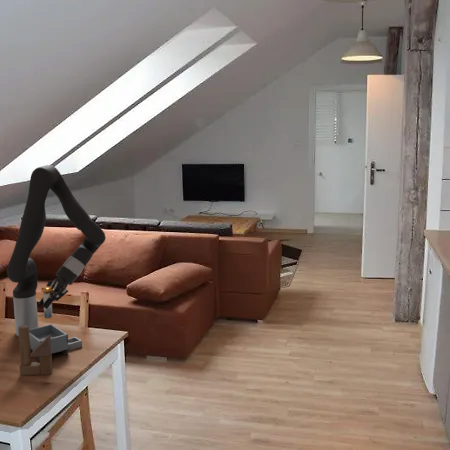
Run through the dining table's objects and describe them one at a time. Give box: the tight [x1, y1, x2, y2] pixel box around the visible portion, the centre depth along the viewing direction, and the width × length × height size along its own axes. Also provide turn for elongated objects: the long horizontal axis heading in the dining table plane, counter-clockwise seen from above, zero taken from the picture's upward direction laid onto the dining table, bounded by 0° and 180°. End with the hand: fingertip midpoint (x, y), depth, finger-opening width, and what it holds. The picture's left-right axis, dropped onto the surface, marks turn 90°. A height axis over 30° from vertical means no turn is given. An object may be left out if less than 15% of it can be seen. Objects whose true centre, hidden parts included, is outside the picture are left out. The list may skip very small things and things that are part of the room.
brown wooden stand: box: [18, 325, 54, 377], centre depth 187 cm, size 4×11×18 cm, turn 96°
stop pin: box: [41, 286, 53, 319], centre depth 203 cm, size 4×4×12 cm
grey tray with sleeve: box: [29, 323, 83, 363], centre depth 207 cm, size 15×19×9 cm
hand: (42, 306), depth 202 cm, fingers closed on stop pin, 3 cm apart
